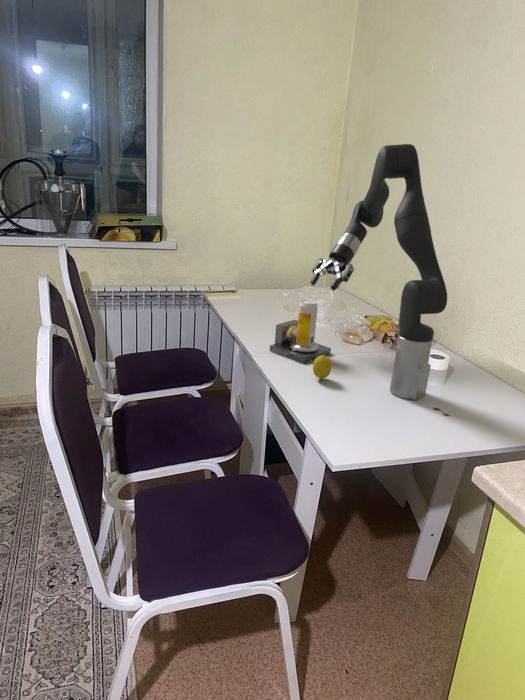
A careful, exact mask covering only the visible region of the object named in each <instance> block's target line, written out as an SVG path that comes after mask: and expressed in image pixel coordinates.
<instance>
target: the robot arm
mask: <svg viewBox="0 0 525 700" xmlns="http://www.w3.org/2000/svg"><path fill="white" fill-rule="evenodd" d="M420 171H421V170H420V162H419V155H418V151H417V149H416V147H415V145H413V144H411V143H403V144H390V145H388V144H387V145H385V146H384V145H383V146H382V147H381V148H380V149H379V151H378V153H377V155H376V158H375V163H374V168H373V171H372V176H371V181H370V183H369V188H368V190H367V192H366V194H365V196H364V198H363V200H360V201H357V203H356V204H355V205H354V208H353V211H352V216H351V219H350V222H349V224H348V226H347V227H346V230H345V231H344V232H343V234H342V235H341V236H340V237H339V239H338V240H337V242H336V243H335V245H334V246H333V248H332V250H331V252H330V253H329V255H328V258H327V259H323V258H322V257H319V258H318V259H317V261H316V262H315V263H314V265H313V267H311V269H310V270H311V271H312V274H313V275H312V277H311V278H310V280H309V281H310V284H311V286H315V285H316V284H317V283H318V281H319V280H320V278H321V277H322V276H326V275H327V274H329V275H334V276H336V278H334V280H333V282H332V283H331V285H330V289H331V291H335V290H337V289H338V288H339V286H340V284H341V283H344V282H345V283H348V281H349V280H350V278H351V276H352V274H353V272H354V271H355V267H354V265H353V264H352V262H351V261H352V260H353V259H354V257H355V256H356V253H357V252H358V250H359V249H360V246H361V245H362V243H363V242H364V239H365V238H366V236H367V234H368V230H367V228H366V227H369V228H370V229H371V228H372V229H373V228H374V229H375V228H376V227H378V226H380V224H381V223H382V220H383V218H384V206H385V205H386V203H387V201H388V200H389V197H390V187H389V185H388V183H387V182H386V179H389V180H390V179H392V180H393V179H404V181H405V190H404V194H403V197H402V199H401V201H400V203H399V205H398V207H397V209H396V212H395V214H394V218H393V219H394V220H393V221H394V222H393V224H394V227H395V228H394V229H395V235H396V240H397V242H398V244H399V246H400V247H401V249H402V250H403V251H404V253H405V254H406V255H407V256H408V257H409V259H410V260H411V261H412V263H413V264H414V265H415V266H416V268H417V270H418V272H419V274H420V275H419V276H420V279H417V280H416V279H415V280H414V279H413V280H409V281H407V282H406V283H405V284H404V287H403V290H402V292H401V298H400V306H399V314H398V315H399V316H398V327H399V329H398V330H399V331H398V335H397V336H398V337H397V343H396V349H395V356H394V361H393V368H392V374H391V380H390V385H389V392H390V393H391V394H392V395H394V396H396V397H398V398H402V399H407V400H412V401H417V400H419V399H420V398H423V397H424V396H425V395H426V392H427V386H428V381H429V377H430V371H431V367H432V366H431V364H430V363H429V362H430V361H429V360H430V355H431V349H432V345H433V340H434V335H435V334H434V333H435V331H434V328H432V327H431V326H429V325H428V324H425V323H422V322H421V321H422V319H421V317H422V315H435V314H437V315H438V314H441V313H442V312H444V311H445V309H446V306H447V303H448V292H447V286H446V283H445V279H444V276H443V273H442V270H441V268H440V265H439V262H438V257H437V254H436V250H435V246H434V241H433V236H432V229H431V225H430V220H429V216H428V212H427V211H428V210H427V208H426V204H425V198H424V194H423V186H422V179H421V172H420ZM365 226H366V227H365Z"/></svg>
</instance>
